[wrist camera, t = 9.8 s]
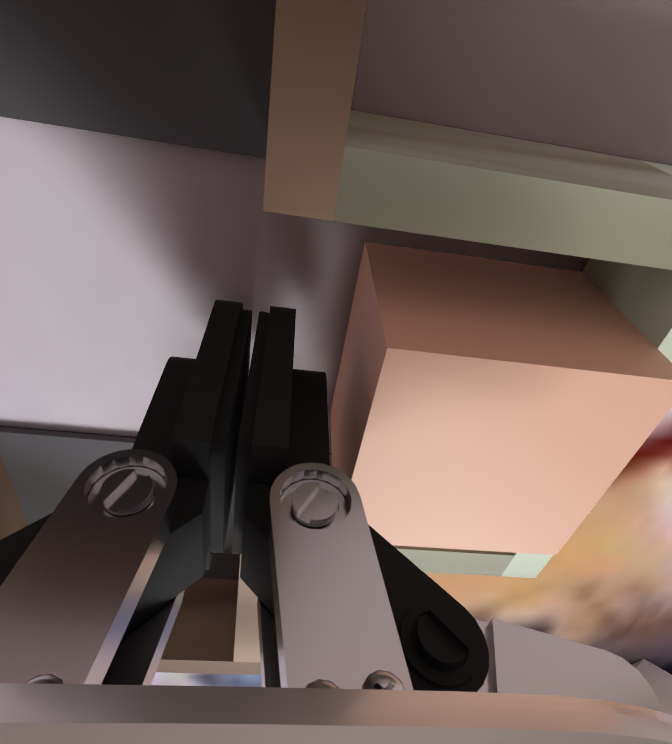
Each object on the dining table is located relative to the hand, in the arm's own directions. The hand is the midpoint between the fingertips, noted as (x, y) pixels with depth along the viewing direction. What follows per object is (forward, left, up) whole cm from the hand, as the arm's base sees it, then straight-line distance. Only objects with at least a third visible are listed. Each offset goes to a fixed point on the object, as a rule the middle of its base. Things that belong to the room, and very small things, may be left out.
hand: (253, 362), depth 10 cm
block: (0, +5, -1) cm, 5 cm away
